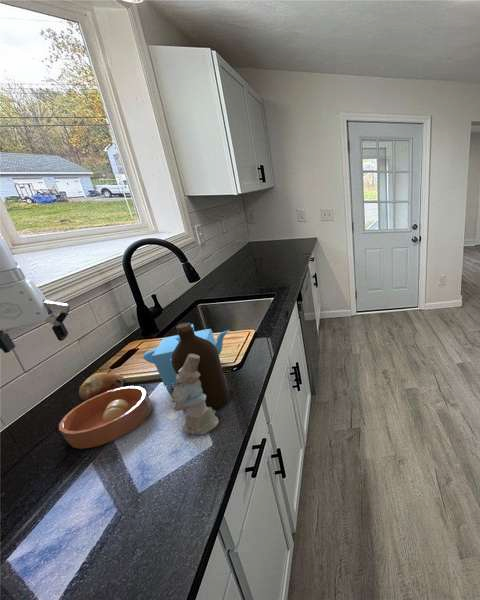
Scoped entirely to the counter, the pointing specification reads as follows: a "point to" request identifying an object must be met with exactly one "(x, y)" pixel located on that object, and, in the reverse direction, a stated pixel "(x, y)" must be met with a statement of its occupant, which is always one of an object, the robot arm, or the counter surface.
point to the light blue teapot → (166, 349)
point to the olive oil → (202, 365)
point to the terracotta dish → (89, 418)
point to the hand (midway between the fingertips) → (37, 344)
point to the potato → (115, 410)
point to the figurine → (193, 399)
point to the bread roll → (100, 385)
